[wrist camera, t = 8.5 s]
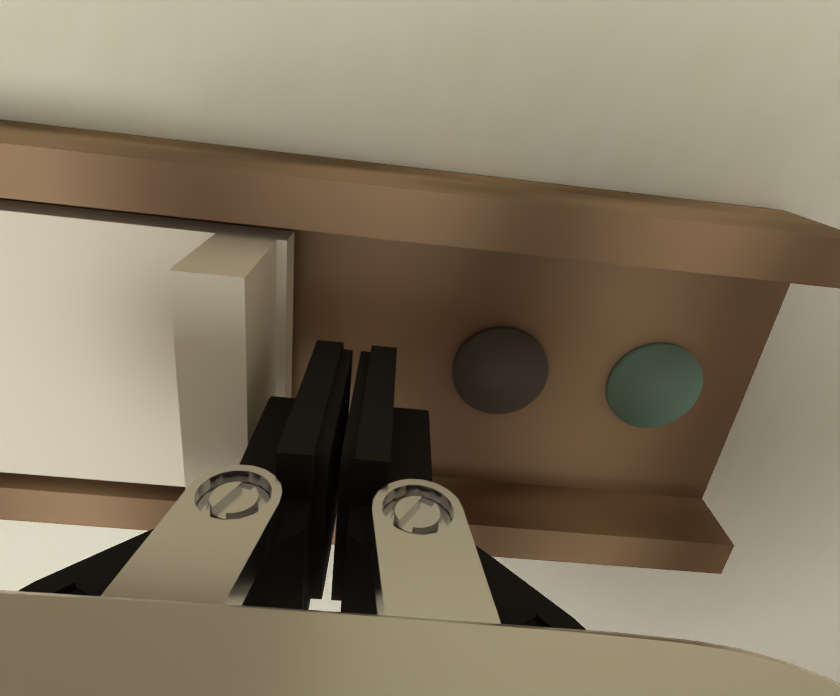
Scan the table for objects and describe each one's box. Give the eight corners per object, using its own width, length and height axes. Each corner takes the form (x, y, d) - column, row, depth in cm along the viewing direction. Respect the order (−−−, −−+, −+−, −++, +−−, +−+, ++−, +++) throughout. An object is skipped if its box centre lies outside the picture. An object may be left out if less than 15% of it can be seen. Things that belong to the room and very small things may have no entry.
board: (784, 210, 14) (874, 241, 11) (673, 498, 18) (720, 573, 15) (-351, 78, 12) (-566, 78, 10) (-206, 425, 16) (-330, 494, 13)
